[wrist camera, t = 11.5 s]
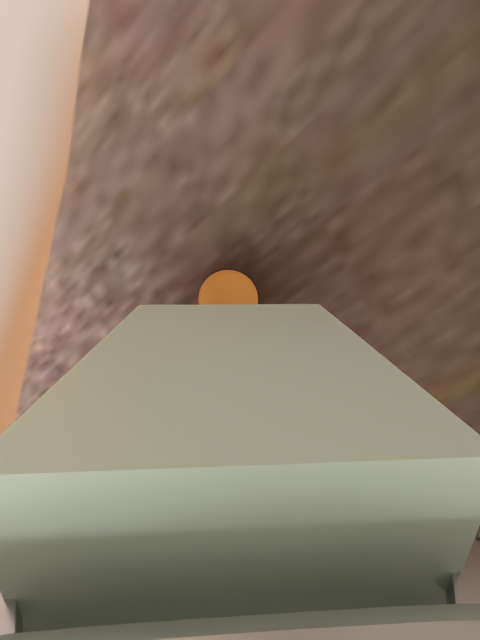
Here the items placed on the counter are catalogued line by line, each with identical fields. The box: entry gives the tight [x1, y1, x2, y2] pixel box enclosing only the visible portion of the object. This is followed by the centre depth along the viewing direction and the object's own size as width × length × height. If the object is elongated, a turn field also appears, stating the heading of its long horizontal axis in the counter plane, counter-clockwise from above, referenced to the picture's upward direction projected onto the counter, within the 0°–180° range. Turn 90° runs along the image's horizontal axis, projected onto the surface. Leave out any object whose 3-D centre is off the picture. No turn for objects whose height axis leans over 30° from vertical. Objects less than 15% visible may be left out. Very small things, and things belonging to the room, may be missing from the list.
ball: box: [198, 270, 258, 305], centre depth 24 cm, size 5×5×5 cm
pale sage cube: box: [0, 304, 480, 633], centre depth 9 cm, size 8×8×9 cm
